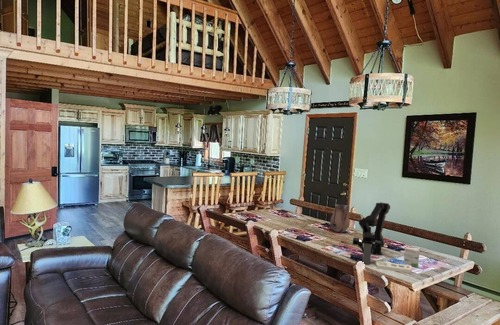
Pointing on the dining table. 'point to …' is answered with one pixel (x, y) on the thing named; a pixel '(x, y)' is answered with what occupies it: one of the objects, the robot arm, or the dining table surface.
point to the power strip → (393, 267)
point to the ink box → (411, 256)
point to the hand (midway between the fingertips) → (367, 253)
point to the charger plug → (367, 253)
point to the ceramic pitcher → (340, 218)
